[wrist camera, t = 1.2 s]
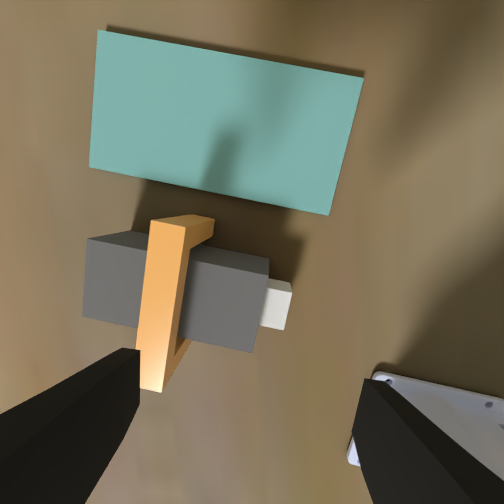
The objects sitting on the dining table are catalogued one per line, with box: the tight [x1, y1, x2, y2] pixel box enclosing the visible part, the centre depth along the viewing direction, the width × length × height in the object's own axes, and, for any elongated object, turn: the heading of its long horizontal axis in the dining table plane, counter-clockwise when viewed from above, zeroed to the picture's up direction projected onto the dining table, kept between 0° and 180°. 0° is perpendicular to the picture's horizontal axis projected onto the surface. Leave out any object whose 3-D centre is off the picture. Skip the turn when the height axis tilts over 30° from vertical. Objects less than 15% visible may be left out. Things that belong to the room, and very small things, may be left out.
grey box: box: [82, 230, 292, 353], centre depth 16 cm, size 12×5×5 cm, turn 79°
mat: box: [89, 30, 364, 216], centre depth 16 cm, size 16×8×1 cm, turn 79°
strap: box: [136, 214, 215, 393], centre depth 15 cm, size 2×9×6 cm, turn 169°
